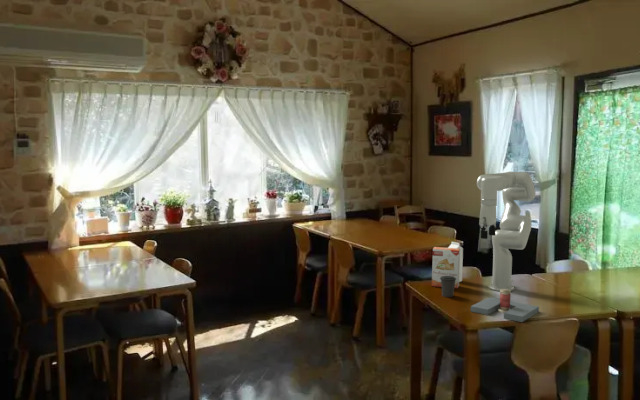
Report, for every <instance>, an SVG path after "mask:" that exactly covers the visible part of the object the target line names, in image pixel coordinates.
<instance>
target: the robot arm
mask: <svg viewBox="0 0 640 400" xmlns="http://www.w3.org/2000/svg"><path fill="white" fill-rule="evenodd" d="M476 187H477V188H478V189H479V190H480V210H479V211H480V212H479V220H478V221H479V223H478V225H479V227H480V239H485V240H487V239H488V235H489V236H491V242H492V254H493V255H492V257H493V258H492V282H491V284H489V286H488V288H489V289H490V290H493V291H497V292H500V290H501V289H508V290H511V292H512V291H514V290H515V287H514V285H512V283H513V282H514V280H513V278H512V269H513V268H512V267H513V256H512V253H511V251H510V250H521V251H522V250H524V249H525V248H526V246H527V243H528V240H529V236H530V234H531V230H532V219H531V218H530V216H528V215H521V212H522V210H521V208H520V206H519V204H518V203H517V202H515V201H518V202H519V201H521V202H531V201H534V199H535V198H536V188H535V184H534V182H533V178H532V176H531V175H530V173H528V172H526V171H506V172H498V173H497V172H496V173H487V174H486V173H485V174H481V175H479V176H478V178H477V180H476ZM498 192H502V194H501V195H502V199H503V201H502V202H503V204H504V205H503V207H504V208H503V209H504V210H503V213H502V215H501V218H500V221H499V222H500V223H499V228H500V229H496V228H497V225H496V224H497V219H498V218H497V205H498ZM509 249H510V250H509Z"/></svg>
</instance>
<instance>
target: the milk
mask: <svg viewBox="0 0 640 400" xmlns="http://www.w3.org/2000/svg"><path fill="white" fill-rule="evenodd" d="M450 243H451V244H449V246H448V247H447V248H457V249H460V270H459V283H460V282H463V263H464V262H463V259H464V248H463V247H462V246H461V244H460V242H456V241H451V242H450Z"/></svg>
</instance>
